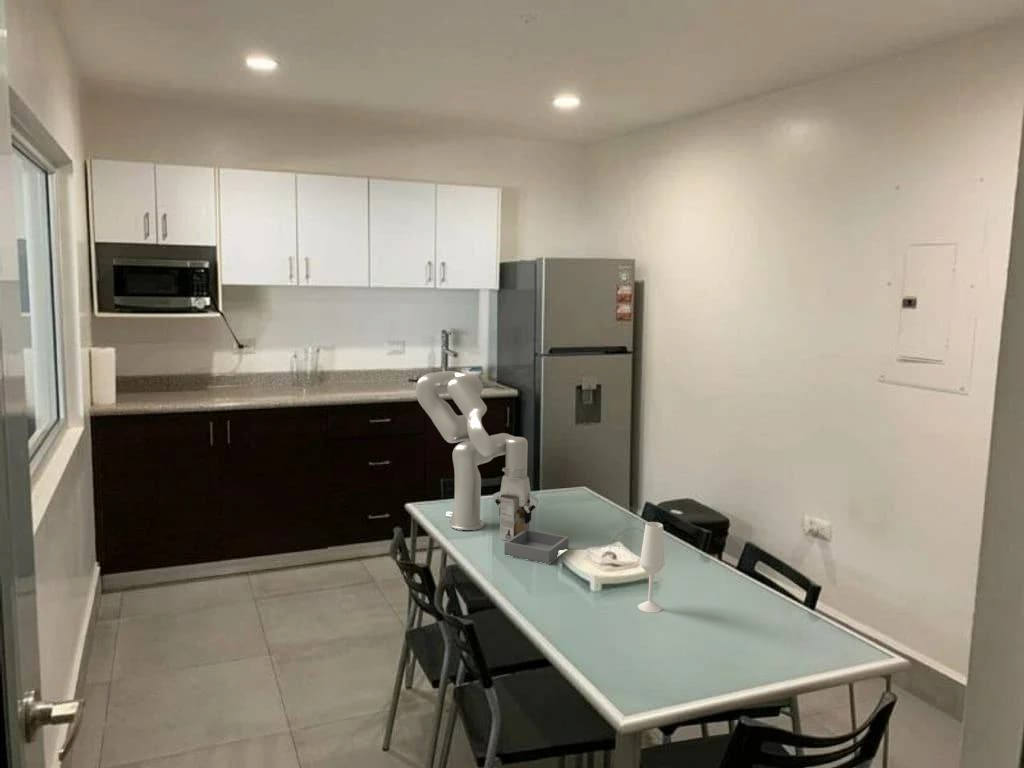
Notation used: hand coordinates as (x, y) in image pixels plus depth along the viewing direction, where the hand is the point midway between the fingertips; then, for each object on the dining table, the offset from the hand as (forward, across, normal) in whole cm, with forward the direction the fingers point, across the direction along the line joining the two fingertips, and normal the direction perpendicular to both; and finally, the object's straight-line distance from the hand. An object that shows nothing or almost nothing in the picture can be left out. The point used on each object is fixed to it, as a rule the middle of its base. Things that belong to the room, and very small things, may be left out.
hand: (515, 520), depth 270 cm
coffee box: (+7, 0, 0) cm, 7 cm away
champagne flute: (+7, +59, -32) cm, 67 cm away
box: (+7, +13, -9) cm, 17 cm away
